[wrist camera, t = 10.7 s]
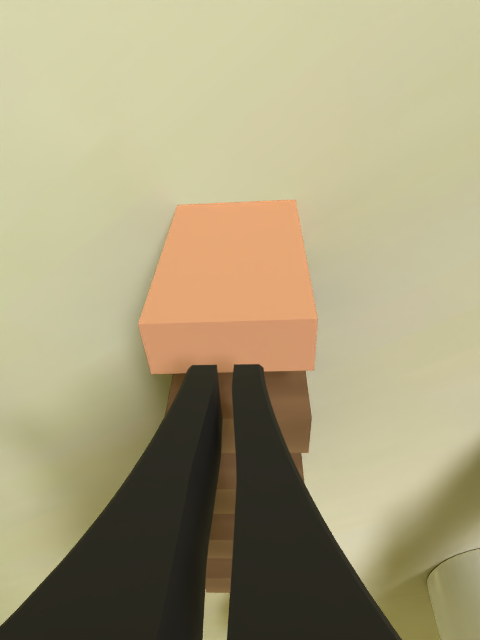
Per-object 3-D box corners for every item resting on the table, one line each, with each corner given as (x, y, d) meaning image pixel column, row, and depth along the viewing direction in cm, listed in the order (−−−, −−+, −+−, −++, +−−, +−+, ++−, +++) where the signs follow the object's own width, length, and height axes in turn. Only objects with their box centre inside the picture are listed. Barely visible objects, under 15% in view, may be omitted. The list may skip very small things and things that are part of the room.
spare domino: (294, 242, 19) (314, 370, 13) (183, 246, 19) (151, 373, 13) (295, 199, 18) (317, 318, 12) (177, 205, 18) (138, 323, 12)
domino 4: (292, 316, 22) (308, 452, 16) (195, 318, 22) (172, 453, 16) (293, 284, 21) (311, 417, 14) (190, 286, 21) (164, 419, 15)
